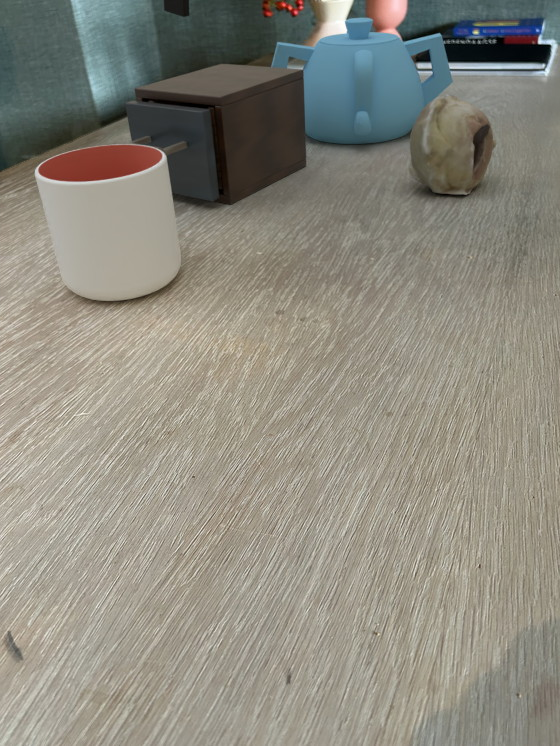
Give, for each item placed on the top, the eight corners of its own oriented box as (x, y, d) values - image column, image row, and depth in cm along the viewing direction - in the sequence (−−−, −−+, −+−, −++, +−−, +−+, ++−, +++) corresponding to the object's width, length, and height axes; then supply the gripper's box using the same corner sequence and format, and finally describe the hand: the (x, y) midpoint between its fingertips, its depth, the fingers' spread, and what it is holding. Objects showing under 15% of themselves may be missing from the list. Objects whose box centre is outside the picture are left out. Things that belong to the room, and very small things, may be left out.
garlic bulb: (421, 219, 71) (398, 134, 65) (412, 180, 77) (389, 100, 71) (512, 191, 69) (497, 100, 62) (495, 153, 75) (479, 66, 68)
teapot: (453, 126, 92) (462, 12, 84) (357, 159, 82) (358, 34, 74) (351, 107, 105) (351, 7, 97) (257, 134, 95) (249, 25, 87)
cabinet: (230, 204, 71) (220, 97, 65) (150, 188, 77) (133, 88, 71) (306, 166, 81) (303, 69, 75) (230, 154, 87) (221, 63, 81)
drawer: (180, 217, 66) (167, 124, 61) (105, 200, 71) (88, 113, 66) (286, 165, 78) (282, 84, 73) (216, 154, 84) (208, 77, 79)
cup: (83, 257, 62) (57, 146, 56) (191, 253, 61) (175, 141, 55) (48, 309, 53) (14, 185, 48) (173, 305, 53) (153, 180, 47)
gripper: (141, -304, 46) (159, 33, 60) (353, -271, 60) (327, -8, 75) (72, -306, 49) (104, 13, 63) (289, -275, 64) (275, -22, 78)
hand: (225, 2), depth 69 cm, fingers open, 13 cm apart
